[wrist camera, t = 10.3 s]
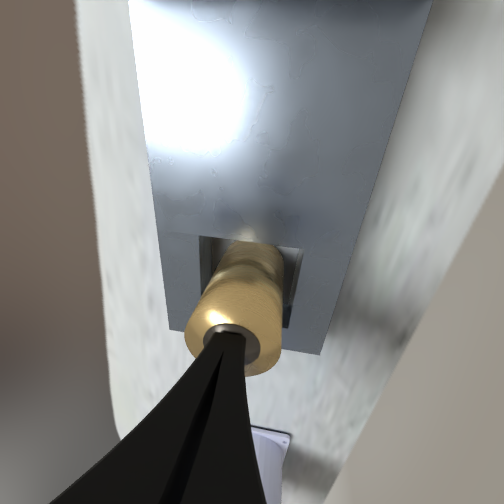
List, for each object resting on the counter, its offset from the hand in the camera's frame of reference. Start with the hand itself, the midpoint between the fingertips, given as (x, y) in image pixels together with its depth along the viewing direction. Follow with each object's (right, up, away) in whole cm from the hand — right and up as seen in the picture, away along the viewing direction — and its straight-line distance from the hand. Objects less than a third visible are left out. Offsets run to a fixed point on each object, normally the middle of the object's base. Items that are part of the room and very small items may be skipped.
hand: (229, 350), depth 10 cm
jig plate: (+1, +8, +4) cm, 9 cm away
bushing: (+1, +3, +6) cm, 7 cm away
